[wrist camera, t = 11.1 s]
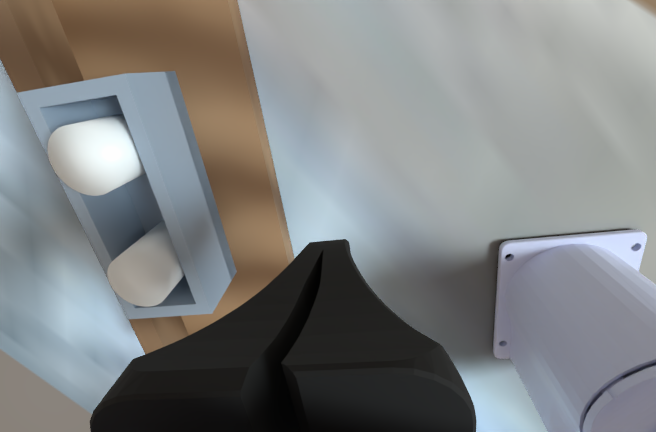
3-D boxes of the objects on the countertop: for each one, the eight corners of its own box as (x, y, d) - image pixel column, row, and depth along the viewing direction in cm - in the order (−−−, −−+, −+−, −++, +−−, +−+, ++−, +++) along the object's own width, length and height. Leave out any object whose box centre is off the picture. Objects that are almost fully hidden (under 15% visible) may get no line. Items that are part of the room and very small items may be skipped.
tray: (236, 271, 22) (204, 326, 17) (165, 277, 22) (116, 332, 18) (175, 71, 17) (107, 74, 12) (86, 86, 18) (-8, 94, 13)
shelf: (307, 315, 25) (298, 359, 21) (180, 323, 26) (151, 366, 22) (225, -52, 16) (186, -85, 12) (41, -11, 17) (-43, -30, 14)
